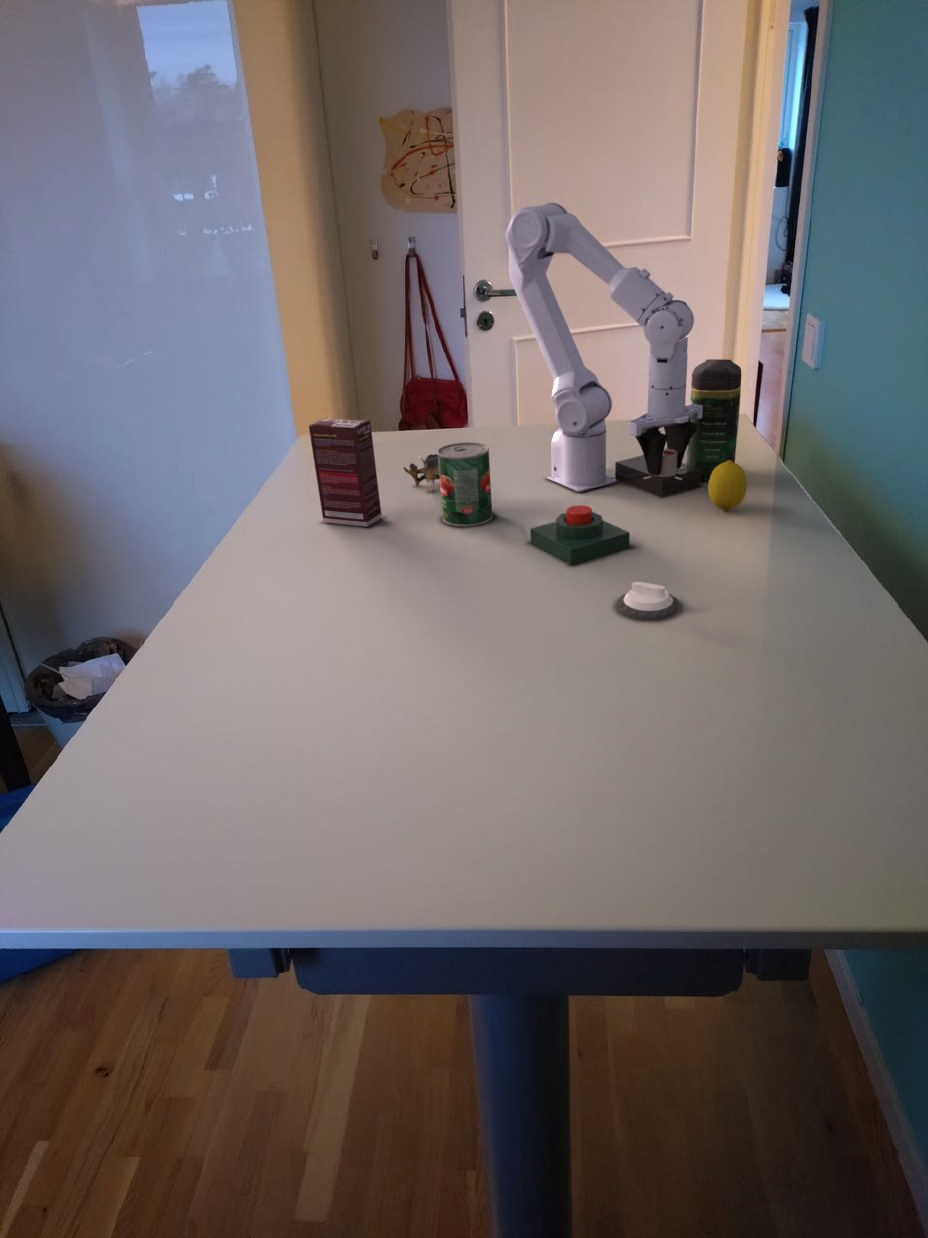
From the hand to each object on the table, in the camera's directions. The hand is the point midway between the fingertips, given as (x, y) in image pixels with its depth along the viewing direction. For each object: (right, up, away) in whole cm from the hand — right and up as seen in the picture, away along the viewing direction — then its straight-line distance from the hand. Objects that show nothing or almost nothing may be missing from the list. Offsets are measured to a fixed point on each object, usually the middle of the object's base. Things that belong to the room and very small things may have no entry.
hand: (664, 470), depth 144 cm
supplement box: (-50, -8, -1) cm, 51 cm away
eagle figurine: (-37, -1, +11) cm, 38 cm away
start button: (-16, -10, -18) cm, 26 cm away
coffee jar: (+10, +1, +8) cm, 13 cm away
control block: (-16, -13, -16) cm, 26 cm away
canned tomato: (-32, -8, -3) cm, 33 cm away
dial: (0, 0, 0) cm, 0 cm away
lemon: (+7, -8, -8) cm, 14 cm away
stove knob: (-10, -23, -35) cm, 43 cm away
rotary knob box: (0, -2, +4) cm, 5 cm away
